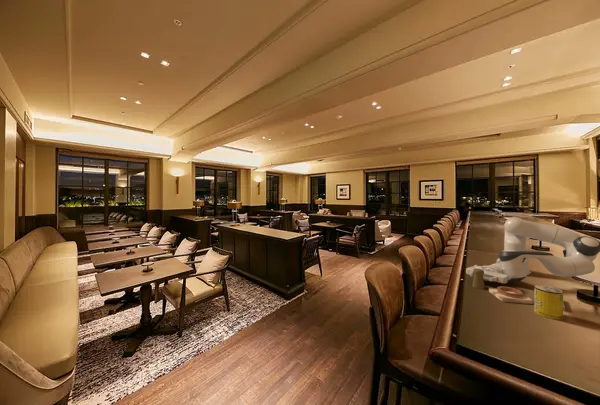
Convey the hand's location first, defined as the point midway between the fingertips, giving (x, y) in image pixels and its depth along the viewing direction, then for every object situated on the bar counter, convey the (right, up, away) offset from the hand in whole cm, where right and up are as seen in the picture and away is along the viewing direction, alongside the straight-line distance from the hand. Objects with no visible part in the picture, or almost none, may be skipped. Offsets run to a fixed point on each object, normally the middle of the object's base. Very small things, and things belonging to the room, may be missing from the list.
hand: (480, 277), depth 136 cm
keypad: (+19, -7, -20) cm, 29 cm away
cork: (0, -6, +1) cm, 6 cm away
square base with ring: (+5, -6, -14) cm, 16 cm away
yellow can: (+7, -7, -31) cm, 33 cm away
